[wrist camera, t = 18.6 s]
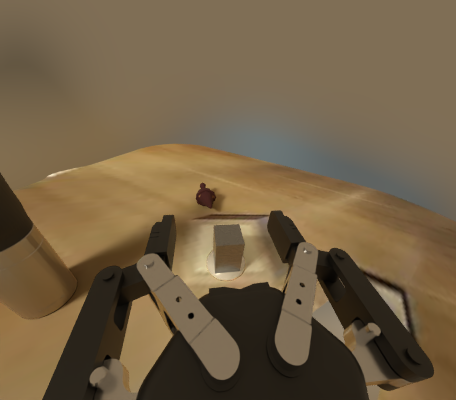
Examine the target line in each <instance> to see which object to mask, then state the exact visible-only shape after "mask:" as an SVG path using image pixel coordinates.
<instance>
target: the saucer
mask: <svg viewBox="0 0 456 400" xmlns="http://www.w3.org/2000/svg"><path fill="white" fill-rule="evenodd" d="M244 268H245V259H244V257H243V256H242V262H241V268H240V271H238V272H227V273H215V269H214V257H213V251H211V252H210V254H209V255H208V257H207V269H208V271H209V273H210V274H211V275H212V276H213V277H215V278H216V279H219V280H222V281H231V280H234V279H236V278H238V277H239V276H240V275H241V274H242V273H243V271H244Z"/></svg>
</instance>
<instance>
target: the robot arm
mask: <svg viewBox="0 0 456 400" xmlns="http://www.w3.org/2000/svg"><path fill="white" fill-rule="evenodd" d="M267 228H268V232H269V234H270V236H271V238H272V240H273V243H274V245H275V247H276V249H277V251H278V254H279V256H280V258H281V260H282V262H283V263H289V265H290V266H289V268H288V271H287V274H286V278H285V281H284V284H283V288H282V290H281V291H280V290H278V289H276V288H272V287H270V286H269V284H268V282H265V283H256V284H252V285H250V286H247V287H245V288H242V289H235V288H228V287H219V288H210V289H209V294H206V295H204V296H203V297H201V298H200V299H199V300H198V299H197V297H196V296H195V295H194V294H193V293H192V291H191V290H190V289H189V288H188V287H187V285H186V284H185V283H184V282H183V281H182V279H181V278H180V277H179V276H178V275H176V276H175V275H174V274H173V273H172V264H173V256H174V249H175V241H176V226H175V219H174V215H164V216H163V219H162V222H156V223H155V225H154V226H153V227H152V230H151V234H150V238H149V240H148V244H147V247H146V251H145V254H144V256H143V257H142V258H140V260H139V261H138V263H136V264H134V265H132V266H129V267H126V268H123V269H121V268H120V267H118V266H109V267H107V268H105V269H103V270H101V271H100V272H99V273H98V274H97V275H96V277H95V279H94V281H93V284H92V286H91V288H90V290H89V293H88V295H87V297H86V300H85V302H84V304H83V307H82V309H81V311H80V314H79V316H78V318H77V321H76V323H75V325H74V327H73V330H72V332H71V334H70V337H69V339H68V341H67V344H66V346H65V348H64V351H63V353H62V355H61V358H60V360H59V362H58V364H57V367H56V369H55V371H54V374H53V376H52V378H51V381H50V383H49V385H48V388H47V390H46V392H45V395H44V397H43V399H42V400H369V397H368V393H367V387H366V386H369V385H377V386H379V387H380V388H382V389H384V390H386V391H391V390H394V389H397V388H400V387H403V386H406V385H409V384H413V383H416V382H419V381H422V380H425V379H428V378H430V377H432V376H433V374H434V368H433V365H432V363H431V361H430V359H429V358H428V357H427V355H426V354H425V353H424V351H423V350H422V349H421V347H420V346H419V345H418V344H417V342H416V341H415V340H414V338H413V337H412V336H411V335H410V333H409V332H408V331H407V329H406V328H405V327H404V326H403V324H402V323H401V322H400V320H399V319H398V318H397V316H396V315H395V314H394V313H393V311H392V310H391V309H390V307H389V306H388V305H387V304H386V302H385V301H384V300H383V298H382V297H381V296H380V295H379V293H378V292H377V291H376V289H375V288H374V287H373V286H372V284H371V283H370V282H369V280H368V279H367V278H366V277H365V275H364V274H363V273H362V271H361V270H360V269H359V268H358V266H357V265H356V264H355V262H354V261H353V260H352V259H351V257H350V256H349V255H348V254H347V253H346V252H345V251H343V250H341V249H338V248H332V249H330V251H329V252H325V251H320V250H317V249H316V247H315V246H313V245H312V244H310V243H307V242H306V241H305V239H304V238H303V236H302V235H301V233H300V232H299V230H298V229H297V227H296V226H295V224H294V223H293V221H292V220H291V219H290V218H289V217H287V216H284V215H283V213H282V211H280V210H279V211H271V213H270V217H269V221H268V225H267ZM339 278H340V279H339ZM317 279H318V281H319V283H320V285H321V286H322V288H323V290H324V292H325V294H326V296H327V298H328V300H329V302H330V303H331V305H332V307H333V309H334V311H335V313H336V315H337V316H338V319H339V320H340V322H341V324H342V326H343V328H344V333H343V337H344V340H345V344H344V343H343V342H341V341H340V340H339V339H338V338H337V337H335V336H334V335H333V334H332V333H331V332H330V331H328V330H327V329H326V328H325V327H324V326H323V325H321V324H320V323H319V322H318V321H316V320H315V319H314V318H313V317H312V311H313V304H314V297H315V289H316V282H317ZM340 280H341V281H340ZM342 283H343V284H342ZM344 286H345V287H344ZM76 287H77V280H76V278H75V277H74V275H73V274H72V273H71V271H70V270H69V269H68V267H67V266H66V265H65V264H64V262H63V261H62V260H61V258H60V257H59V256H58V254H57V253H56V252H55V251H54V249H53V248H52V247H51V245H50V244H49V243H48V241H47V240H46V239H45V238H44V236H43V235H42V234H41V233H40V231H39V230H38V229H37V227H36V226H35V225H34V224H33V222H32V221H31V220H30V218H29V217H28V215H27V214H26V212H25V210H24V208H23V206H22V204H21V203H20V201H19V200H18V198H17V197H16V195H15V194H14V193H13V191H12V190H11V189H10V187H9V185H8V184H7V182H6V181H5V179H4V178H3V176H2V175H1V173H0V302H2V303H3V304H4V305H6V306H7V307H8V308H10V309H11V310H12V311H14V312H15V313H17V314H18V315H19V316H21V317H22V318H25V319H37V318H40V317H43V316H46V315H48V314H50V313H52V312H54V311H55V310H57V309H58V308H60V307H61V306H62V305H64V304H65V303H66V302H67V301H68V300H69V299H70V298H71V296H72V295H73V293H74V292H75V290H76ZM147 294H148V295H149V297H150V299H151V300H152V302H153V303H154V305H155V307H156V308H157V310H158V311H159V313H160V315H161V316H162V318H163V320H164V322H165V324H166V326H167V327H168V329H169V331H170V332H171V334H172V335H173V337H172V338H171V340H170V341H169V343H168V344H167V346H166V347H165V349H164V350H163V352H162V353H161V355H160V356H159V358H158V359H157V361H156V362H155V364H154V365H153V367H152V369H151V370H150V372H149V373H148V375H147V376H146V378H145V379H144V381H143V383H142V385H141V387H140V389H139V392H138V393H131V391H130V388H129V372H128V370H127V368H126V367H125V366H124V365H123V364H122V363H121V362H120V361H119V359H120V355H121V351H122V346H123V342H124V337H125V333H126V328H127V324H128V319H129V315H130V310H131V306H132V301H133V300H135V299H138V298H140V297H142V296H145V295H147Z"/></svg>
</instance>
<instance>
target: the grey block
mask: <svg viewBox="0 0 456 400" xmlns="http://www.w3.org/2000/svg"><path fill="white" fill-rule="evenodd" d="M244 245H245V244H244V240H243V236H242V233H241V229H240V225H239V224H237V225H216V226H214V238H213V257H214V269H215V273H227V272H238V271H240V268H241V262H242V256H243V250H244Z"/></svg>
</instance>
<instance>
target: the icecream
mask: <svg viewBox="0 0 456 400" xmlns="http://www.w3.org/2000/svg"><path fill="white" fill-rule="evenodd" d="M205 186H206V185H205V184H204V183H201V184H200V188H201V189H200V190H199V191H198V193H197V194H196V200H197V203H198V204H199V205H202V206H207V207H208V208H210V209H211V208H212V203H213V201H215V198H216V196H215V194H214V192H213V191H211V190H210V189H209V188H205Z"/></svg>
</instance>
